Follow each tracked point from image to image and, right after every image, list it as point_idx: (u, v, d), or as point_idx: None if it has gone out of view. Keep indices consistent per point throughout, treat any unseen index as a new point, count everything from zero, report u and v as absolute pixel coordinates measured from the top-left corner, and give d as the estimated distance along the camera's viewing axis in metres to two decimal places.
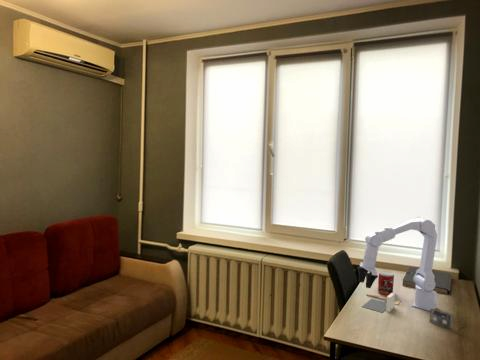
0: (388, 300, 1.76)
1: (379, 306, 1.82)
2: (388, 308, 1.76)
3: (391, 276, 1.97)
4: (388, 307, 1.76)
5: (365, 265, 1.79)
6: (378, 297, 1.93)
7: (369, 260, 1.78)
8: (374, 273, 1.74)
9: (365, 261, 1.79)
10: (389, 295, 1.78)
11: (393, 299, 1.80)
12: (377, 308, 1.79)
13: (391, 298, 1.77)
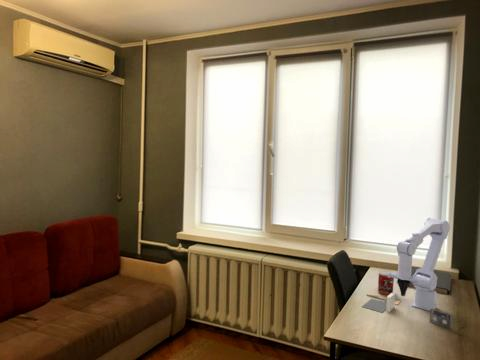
0: (388, 300, 1.76)
1: (379, 306, 1.82)
2: (388, 308, 1.76)
3: None
4: (388, 307, 1.76)
5: (406, 276, 1.72)
6: (378, 297, 1.93)
7: (409, 270, 1.72)
8: (420, 282, 1.70)
9: (405, 272, 1.72)
10: (389, 295, 1.78)
11: (393, 299, 1.80)
12: (377, 308, 1.79)
13: (391, 298, 1.77)
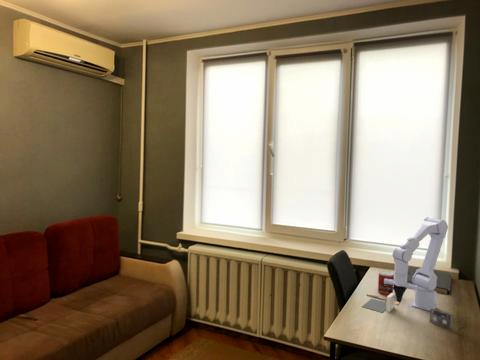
0: (388, 300, 1.76)
1: (379, 306, 1.82)
2: (388, 308, 1.76)
3: (391, 276, 1.97)
4: (388, 307, 1.76)
5: (402, 283, 1.73)
6: (378, 297, 1.93)
7: (405, 276, 1.73)
8: (416, 288, 1.71)
9: (401, 279, 1.73)
10: (389, 295, 1.78)
11: (393, 299, 1.80)
12: (377, 308, 1.79)
13: (391, 298, 1.77)
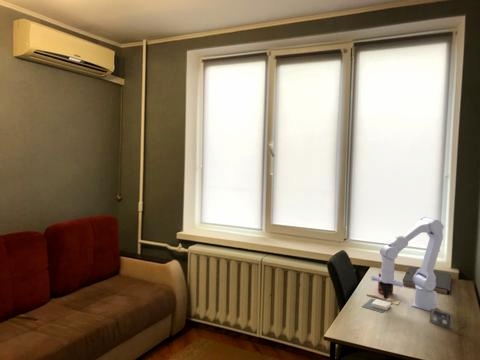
0: (374, 305, 1.80)
1: None
2: (383, 307, 1.78)
3: None
4: (382, 307, 1.78)
5: (388, 279, 1.77)
6: (378, 297, 1.93)
7: (391, 273, 1.77)
8: (402, 285, 1.75)
9: (388, 276, 1.77)
10: None
11: (380, 301, 1.84)
12: (377, 308, 1.79)
13: (374, 302, 1.82)
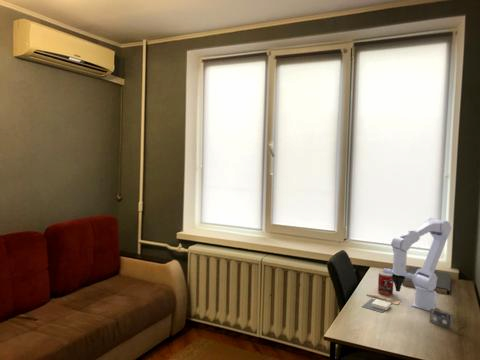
0: (374, 305, 1.80)
1: None
2: (383, 307, 1.78)
3: (391, 276, 1.97)
4: (382, 307, 1.78)
5: (401, 272, 1.73)
6: (378, 297, 1.93)
7: (404, 265, 1.73)
8: (415, 277, 1.72)
9: (400, 268, 1.73)
10: None
11: (380, 301, 1.84)
12: (377, 308, 1.79)
13: (374, 302, 1.82)
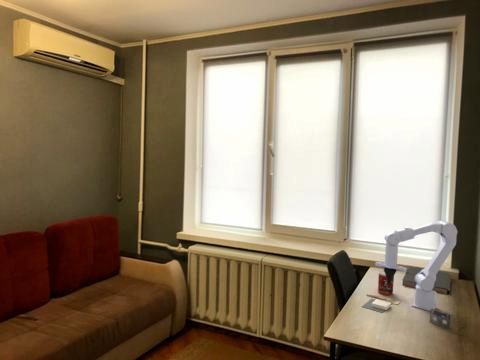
0: (374, 305, 1.80)
1: None
2: (383, 307, 1.78)
3: None
4: (382, 307, 1.78)
5: (392, 265, 1.83)
6: (378, 297, 1.93)
7: (395, 259, 1.83)
8: (405, 270, 1.81)
9: (391, 261, 1.83)
10: None
11: (380, 301, 1.84)
12: (377, 308, 1.79)
13: (374, 302, 1.82)
